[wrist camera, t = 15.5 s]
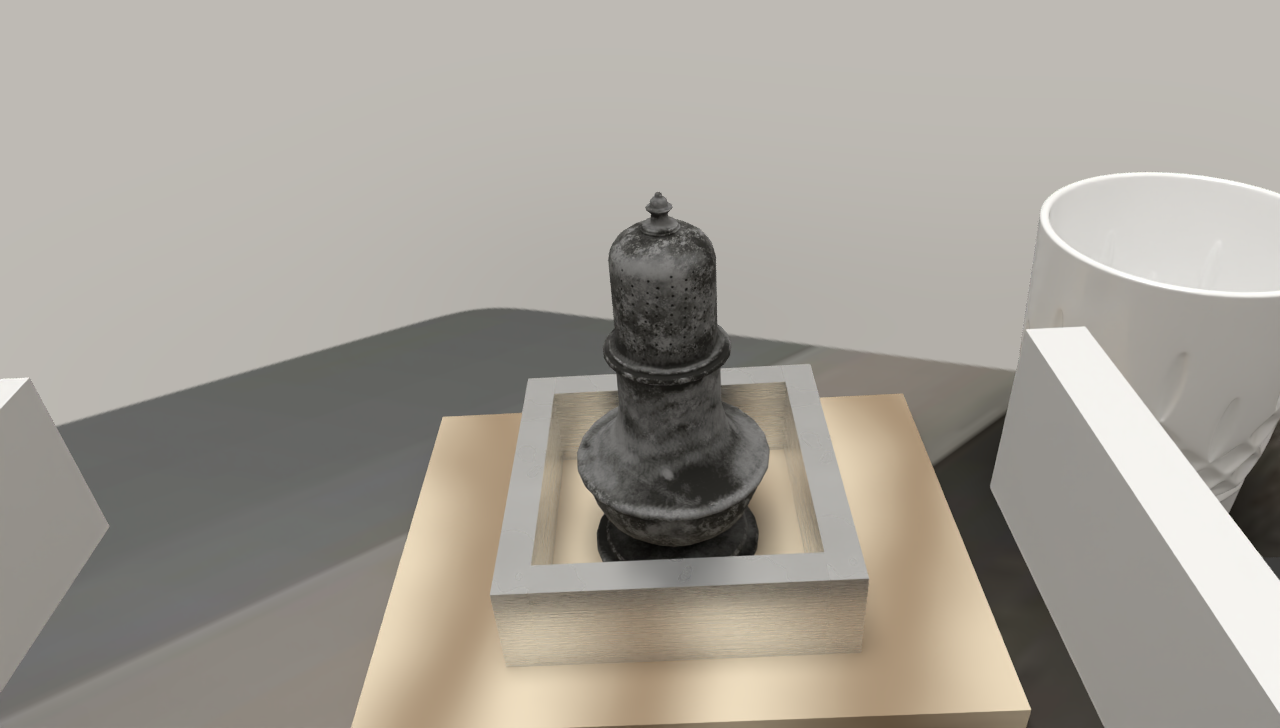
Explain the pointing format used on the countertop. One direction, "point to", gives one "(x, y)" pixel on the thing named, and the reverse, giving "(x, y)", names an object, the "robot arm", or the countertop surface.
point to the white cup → (1174, 304)
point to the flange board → (707, 688)
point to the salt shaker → (670, 408)
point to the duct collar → (678, 588)
